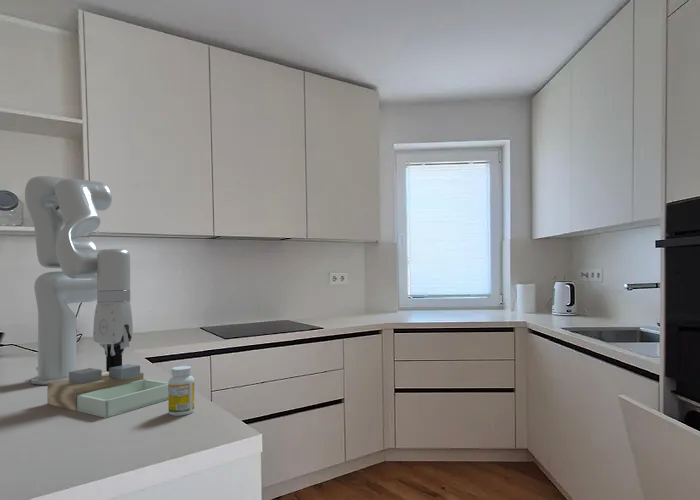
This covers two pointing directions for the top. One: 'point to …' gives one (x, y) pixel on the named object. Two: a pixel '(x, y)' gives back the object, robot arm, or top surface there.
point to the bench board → (80, 389)
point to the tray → (122, 398)
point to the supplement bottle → (181, 391)
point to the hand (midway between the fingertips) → (114, 370)
